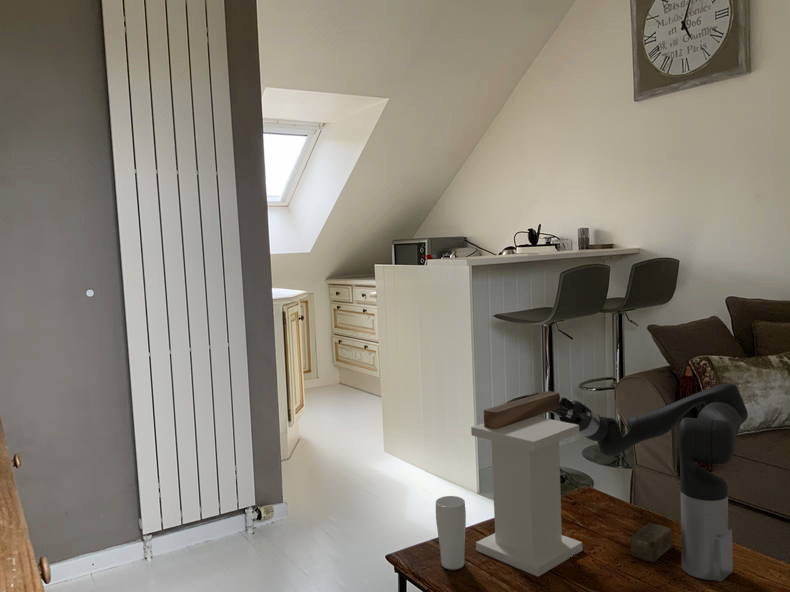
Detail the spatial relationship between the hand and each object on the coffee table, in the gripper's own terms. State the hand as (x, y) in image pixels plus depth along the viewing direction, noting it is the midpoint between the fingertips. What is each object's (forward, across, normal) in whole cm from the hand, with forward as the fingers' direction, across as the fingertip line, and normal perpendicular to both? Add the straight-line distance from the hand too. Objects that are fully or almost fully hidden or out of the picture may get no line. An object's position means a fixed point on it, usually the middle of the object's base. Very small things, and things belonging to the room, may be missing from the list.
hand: (547, 398), depth 168 cm
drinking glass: (+13, +2, -46) cm, 47 cm away
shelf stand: (-2, -6, -36) cm, 37 cm away
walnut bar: (+8, -1, -8) cm, 11 cm away
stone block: (-19, -26, -27) cm, 42 cm away
